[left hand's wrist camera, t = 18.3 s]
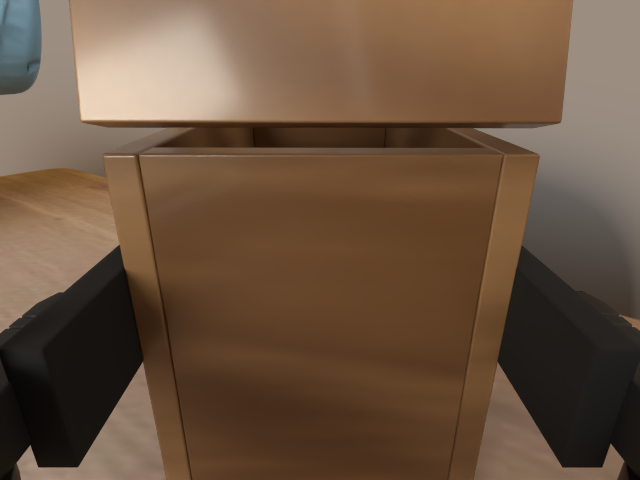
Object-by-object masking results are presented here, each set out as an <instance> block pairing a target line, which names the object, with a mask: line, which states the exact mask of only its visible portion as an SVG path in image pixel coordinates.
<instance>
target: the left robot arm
mask: <svg viewBox="0 0 640 480" xmlns="http://www.w3.org/2000/svg"><path fill="white" fill-rule="evenodd" d="M142 362H143V359H142V354H141V349H140V344H139V339H138V334H137V329H136V324H135V319H134V314H133V309H132V304H131V299H130V294H129V289H128V284H127V279H126V274H125V269H124V264H123V259H122V254H121V249H120V245H119V246H118V247H116V248H115V249H114V250H113V251H112V252H110V253H109V254H108V255H107V256H106V257H105V258H103V259H102V260H101V261H100V262H99V263H98V264H96V265H95V266H94V267H93V268H92V269H91V270H89V271H88V272H87V273H86V274H85V275H84V276H82V277H81V278H80V279H79V280H78V281H77V282H75V283H74V284H73V285H72V286H71V287H70V288H68V289H67V290H66V291H65V292H64V293H57V294H55V295H53V296H51V297H49V298H47V299H45V300H43V301H41V302H39V303H37V304H36V305H35V306H34V307H32V308H31V309H30V310H29V311H27V312H26V313H25V314H24V315H23V316H22V318H19V319H18V320H16V321H15V322H14V323H13V324H11V325H10V326H9V329H5V330H4V331H3V332H2V333H0V480H21V477H20V471H19V469H18V466H17V461H18V460H19V459H20V457H21V456H22V455H23V454H24V452H25V451H26V450H27V448H28V447H29V446H30V445H31V448H32V451H33V453H34V456H35V459H36V462H37V465H38V467H78V466H79V465H80V463H81V461H82V460H83V458H84V457H85V455H86V453H87V452H88V450H89V448H90V447H91V445H92V444H93V442H94V440H95V439H96V437H97V435H98V434H99V432H100V430H101V429H102V427H103V426H104V424H105V422H106V421H107V419H108V417H109V416H110V414H111V413H112V411H113V409H114V408H115V406H116V404H117V403H118V401H119V400H120V398H121V396H122V395H123V393H124V391H125V390H126V388H127V387H128V385H129V383H130V382H131V380H132V378H133V377H134V375H135V374H136V372H137V370H138V369H139V367H140V365H141V364H142ZM498 363H499V365H500V366H501V368H502V370H503V371H504V373H505V374H506V376H507V378H508V379H509V381H510V383H511V384H512V386H513V387H514V389H515V391H516V392H517V394H518V396H519V397H520V399H521V400H522V402H523V404H524V405H525V407H526V409H527V410H528V412H529V413H530V415H531V417H532V418H533V420H534V422H535V423H536V425H537V427H538V428H539V430H540V431H541V433H542V435H543V436H544V438H545V440H546V441H547V443H548V444H549V446H550V448H551V449H552V451H553V453H554V454H555V456H556V457H557V459H558V461H559V462H560V464H561V466H562V467H602V466H603V464H604V461H605V458H606V455H607V452H608V449H609V447H610V444H612V445H613V447H614V448H615V449H616V451H617V452H618V453H619V454H620V456H621V457H622V458H623V459H624V463H623V466H622V469H621V471H620V474H619V477H618V479H617V480H640V331H639V330H638V329H637V328H635V327H632V324H630V323H629V322H628V321H627V320H625V319H624V318H623V317H619V314H618V313H617V312H615V311H614V310H613V309H612V308H610V307H609V306H608V305H607V304H606V303H604V302H603V301H601V300H599V299H597V298H595V297H593V296H591V295H589V294H587V293H585V292H583V291H574V290H573V289H572V288H571V287H570V286H569V285H567V284H566V283H565V282H564V281H563V280H562V279H560V278H559V277H558V276H557V275H556V274H555V273H553V272H552V271H551V270H550V269H549V268H548V267H546V266H545V265H544V264H543V263H542V262H541V261H539V260H538V259H537V258H536V257H535V256H533V255H532V254H531V253H530V252H529V251H528V250H526V249H525V248H524V247H523V246H522V245H521V250H520V255H519V260H518V265H517V268H516V272H515V277H514V282H513V287H512V292H511V297H510V302H509V307H508V311H507V316H506V321H505V326H504V331H503V336H502V341H501V346H500V351H499V356H498Z"/></svg>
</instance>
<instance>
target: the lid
mask: <svg viewBox="0 0 640 480" xmlns="http://www.w3.org/2000/svg"><path fill="white" fill-rule="evenodd" d="M69 6H70V17H71V28H72V38H73V49H74V59H75V70H76V81H77V91H78V101H79V112H80V120H81V122H83V123H87V124H92V125H98V126H103V127H108V128H110V127H113V128H114V127H115V128H116V127H117V128H537V127H542V126H547V125H553V124H558V123H560V122H561V119H562V109H563V99H564V88H565V78H566V68H567V58H568V48H569V38H570V27H571V17H572V7H573V0H69Z"/></svg>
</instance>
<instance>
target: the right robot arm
mask: <svg viewBox="0 0 640 480" xmlns="http://www.w3.org/2000/svg"><path fill="white" fill-rule="evenodd" d="M40 60H41V17H40V7H39V0H0V95H6V94H17V93H22V92H24V91H26V90H28V89H29V88H30V87H31V86H32V85H33V84H34V82H35V80H36V78H37V75H38V72H39V67H40Z"/></svg>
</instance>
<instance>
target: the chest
mask: <svg viewBox="0 0 640 480" xmlns="http://www.w3.org/2000/svg"><path fill="white" fill-rule="evenodd" d="M102 158H103V163H104V169H105V173H106V179H107V184H108V189H109V194H110V199H111V204H112V209H113V214H114V219H115V224H116V229H117V234H118V239H119V244H120V249H121V254H122V259H123V264H124V269H125V274H126V279H127V284H128V289H129V294H130V299H131V304H132V309H133V314H134V319H135V324H136V329H137V334H138V339H139V344H140V349H141V354H142V359H143V364H144V369H145V374H146V379H147V384H148V389H149V394H150V399H151V404H152V409H153V414H154V419H155V424H156V429H157V434H158V439H159V444H160V449H161V454H162V459H163V464H164V469H165V474H166V479H167V480H473V479H474V474H475V469H476V464H477V459H478V455H479V450H480V445H481V440H482V435H483V430H484V425H485V420H486V416H487V411H488V406H489V401H490V396H491V391H492V386H493V382H494V377H495V372H496V367H497V362H498V356H499V351H500V346H501V341H502V336H503V331H504V326H505V321H506V316H507V311H508V307H509V302H510V297H511V292H512V287H513V282H514V277H515V272H516V268H517V265H518V260H519V255H520V250H521V245H522V241H523V236H524V231H525V226H526V221H527V216H528V211H529V207H530V202H531V196H532V192H533V187H534V182H535V177H536V172H537V168H538V163H539V158H540V156H539V154H537V153H534V152H532V151H529V150H527V149H524V148H521V147H519V146H516V145H514V144H511V143H509V142H506V141H504V140H501V139H499V138H496V137H493V136H491V135H488V134H486V133H483V132H481V131H478V130H476V129H473V128H167V129H164V130H162V131H159V132H157V133H154V134H152V135H149V136H147V137H144V138H142V139H139V140H137V141H134V142H132V143H129V144H127V145H124V146H122V147H119V148H117V149H114V150H112V151H109V152H107V153H104V154H103V156H102Z"/></svg>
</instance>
